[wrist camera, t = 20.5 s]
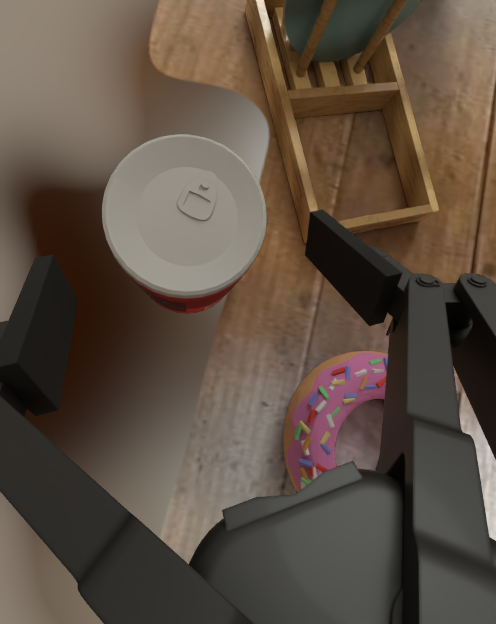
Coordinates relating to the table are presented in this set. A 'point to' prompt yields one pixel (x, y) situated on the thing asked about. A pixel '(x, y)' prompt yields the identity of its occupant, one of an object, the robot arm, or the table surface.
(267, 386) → the table surface
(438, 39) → the table surface
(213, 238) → the canned food
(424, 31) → the table surface
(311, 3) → the dish rack
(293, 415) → the donut
